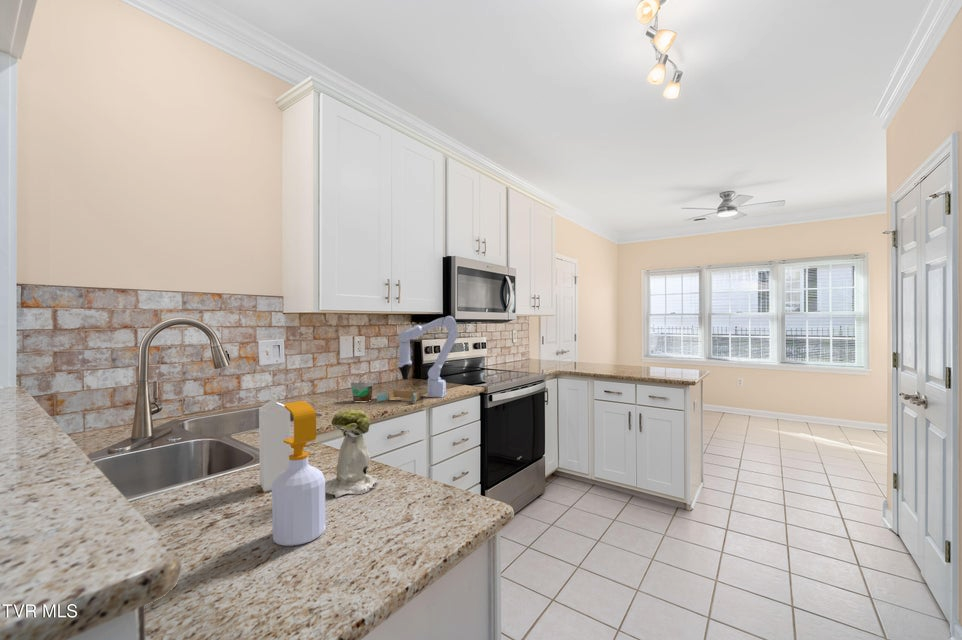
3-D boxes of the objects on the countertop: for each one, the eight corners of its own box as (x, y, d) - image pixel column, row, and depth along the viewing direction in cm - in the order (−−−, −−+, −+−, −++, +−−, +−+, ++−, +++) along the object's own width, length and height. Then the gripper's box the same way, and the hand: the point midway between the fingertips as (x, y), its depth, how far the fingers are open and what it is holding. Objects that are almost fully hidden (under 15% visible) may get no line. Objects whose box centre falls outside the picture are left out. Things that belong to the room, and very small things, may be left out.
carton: (420, 398, 214) (420, 390, 214) (414, 401, 206) (414, 393, 206) (394, 397, 217) (394, 390, 217) (387, 400, 209) (387, 392, 209)
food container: (345, 402, 206) (345, 382, 206) (352, 400, 212) (352, 381, 212) (367, 403, 202) (366, 383, 202) (373, 401, 208) (373, 381, 208)
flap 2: (413, 400, 205) (412, 393, 205) (414, 399, 205) (414, 393, 205) (414, 402, 199) (414, 395, 199) (415, 402, 199) (415, 395, 199)
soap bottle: (310, 518, 83) (308, 396, 83) (334, 532, 77) (332, 401, 78) (264, 536, 76) (262, 404, 76) (287, 553, 71) (285, 410, 71)
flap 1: (377, 401, 203) (377, 394, 203) (376, 401, 203) (376, 394, 203) (387, 399, 208) (387, 392, 208) (386, 399, 208) (386, 392, 208)
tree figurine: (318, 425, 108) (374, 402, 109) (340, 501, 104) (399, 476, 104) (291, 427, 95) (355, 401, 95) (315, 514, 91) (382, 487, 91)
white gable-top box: (264, 492, 97) (262, 398, 97) (259, 484, 101) (258, 395, 101) (291, 485, 100) (290, 395, 100) (285, 478, 105) (284, 392, 105)
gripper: (403, 352, 227) (403, 377, 227) (392, 354, 213) (392, 381, 213) (415, 352, 226) (415, 377, 226) (404, 354, 212) (405, 381, 211)
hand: (405, 379), depth 219 cm, fingers closed
